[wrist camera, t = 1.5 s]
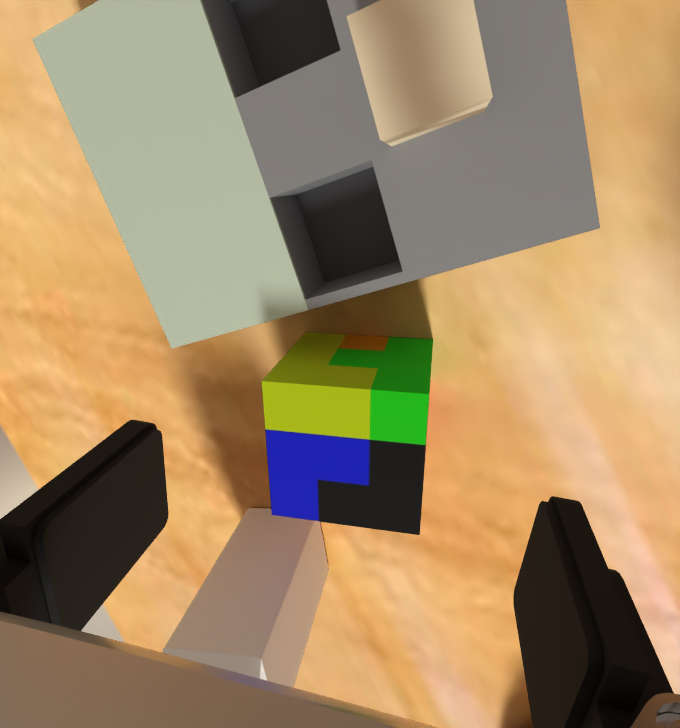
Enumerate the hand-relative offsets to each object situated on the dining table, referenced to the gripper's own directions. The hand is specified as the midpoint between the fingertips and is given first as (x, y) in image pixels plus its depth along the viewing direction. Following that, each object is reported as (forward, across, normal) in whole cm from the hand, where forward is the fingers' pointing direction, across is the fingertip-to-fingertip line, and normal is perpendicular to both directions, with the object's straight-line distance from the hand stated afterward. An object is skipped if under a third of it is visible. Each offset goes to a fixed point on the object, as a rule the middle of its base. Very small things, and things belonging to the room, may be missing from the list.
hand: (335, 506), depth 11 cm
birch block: (+19, 0, -12) cm, 23 cm away
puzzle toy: (+26, +2, +9) cm, 27 cm away
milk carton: (+26, +8, +26) cm, 37 cm away
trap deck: (+25, +7, -10) cm, 28 cm away
